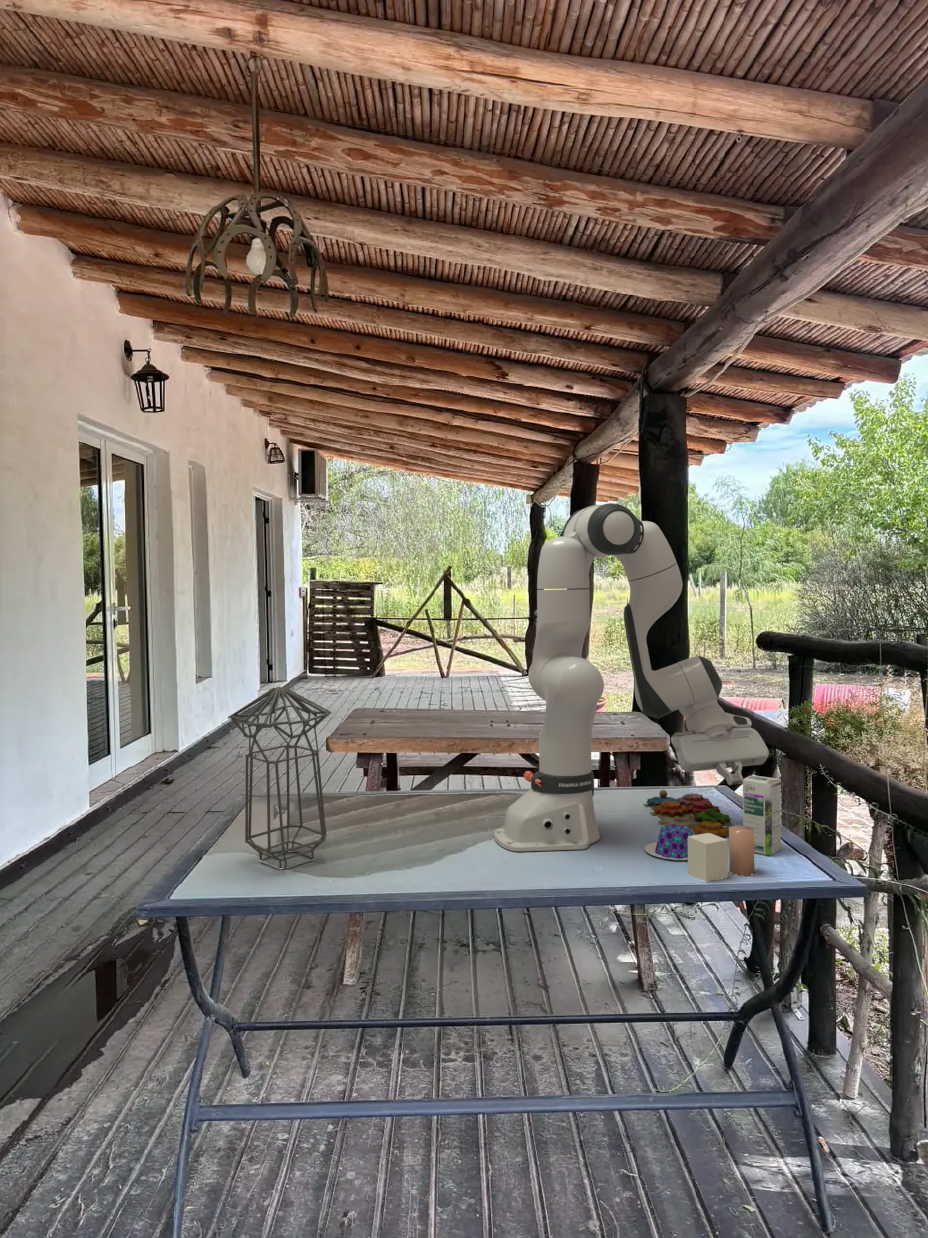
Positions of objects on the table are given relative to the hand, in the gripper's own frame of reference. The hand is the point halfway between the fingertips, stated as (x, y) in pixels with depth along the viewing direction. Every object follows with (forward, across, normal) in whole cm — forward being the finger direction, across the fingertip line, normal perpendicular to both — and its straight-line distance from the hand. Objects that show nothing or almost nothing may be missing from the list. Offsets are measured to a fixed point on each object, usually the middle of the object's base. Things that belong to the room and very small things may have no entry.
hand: (736, 783), depth 175 cm
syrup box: (+15, -1, +1) cm, 15 cm away
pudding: (+12, -18, +4) cm, 22 cm away
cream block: (+22, -19, -6) cm, 29 cm away
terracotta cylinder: (+22, -12, -6) cm, 26 cm away
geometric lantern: (-1, -94, +15) cm, 95 cm away
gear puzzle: (-2, -3, +19) cm, 19 cm away
